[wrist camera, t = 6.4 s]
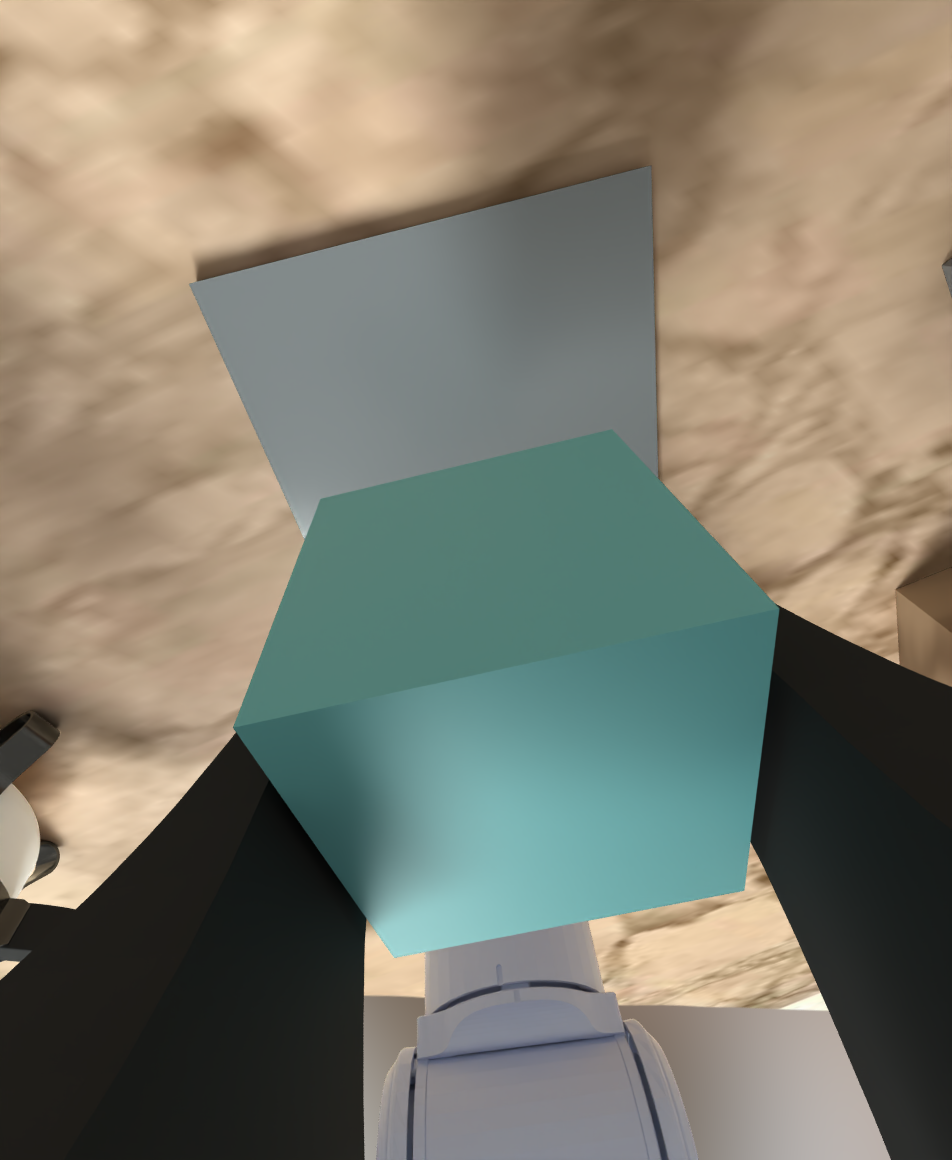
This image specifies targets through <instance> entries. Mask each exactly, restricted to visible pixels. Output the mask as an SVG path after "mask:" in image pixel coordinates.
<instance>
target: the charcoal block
mask: <svg viewBox="0 0 952 1160" xmlns="http://www.w3.org/2000/svg"><path fill="white" fill-rule="evenodd" d="M942 268H943V271H944V275H945V278H946V281H947V284H948V287H949V290H950V293H951V297H952V258H951V259H950V260H949V261H947V262H946V263H945V264H943V265H942Z"/></svg>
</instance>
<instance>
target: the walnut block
mask: <svg viewBox="0 0 952 1160" xmlns="http://www.w3.org/2000/svg"><path fill="white" fill-rule="evenodd" d="M896 608H897V626H898V643H899V661H900V665H901V666H903V667H905V668H907V669H910V670H912V671H914V672H917V673H919V674H921V675H924V676H926V677H928V678H931V679H933V680H936V681H938V682H941V683H943V684H946V685H948V686H951V687H952V567H951V568H948V569H946V570H943V571H941V572H938V573H936V574H933V575H931V576H928V577H926V578H923V579H921V580H918V581H916V582H913V583H911V584H908V585H906V586H903V587H901V588H898V589H896Z"/></svg>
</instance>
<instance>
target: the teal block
mask: <svg viewBox="0 0 952 1160" xmlns="http://www.w3.org/2000/svg"><path fill="white" fill-rule="evenodd" d="M778 616H779V608H778V606H777V605H776V604H775V603H774V602H773V601H772V600H771V599H770V598H769V597H768V596H767V595H766V594H765V593H764V591H763V590H762V589H761V588H760V587H759V586H758V585H757V584H756V583H755V582H754V581H753V580H752V579H751V578H750V576H749V575H748V574H747V573H746V572H745V571H744V570H743V569H742V568H741V567H740V566H739V565H738V564H737V563H736V561H735V560H734V559H733V558H732V557H731V556H730V555H729V554H728V553H727V552H726V551H725V550H724V549H723V548H722V546H721V545H720V544H719V543H718V542H717V541H716V540H715V539H714V538H713V537H712V536H711V535H710V534H709V533H708V531H707V530H706V529H705V528H704V527H703V526H702V525H701V524H700V523H699V522H698V521H697V520H696V519H695V518H694V516H693V515H692V514H691V513H690V512H689V511H688V510H687V509H686V508H685V507H684V506H683V505H682V504H681V503H680V501H679V500H678V499H677V498H676V497H675V496H674V495H673V494H672V493H671V492H670V491H669V490H668V489H667V488H666V486H665V485H664V484H663V483H662V482H661V481H660V480H659V479H658V478H657V477H656V476H655V475H654V474H653V473H652V471H651V470H650V469H649V468H648V467H647V466H646V465H645V464H644V463H643V462H642V461H641V460H640V459H639V457H638V456H637V455H636V454H635V453H634V452H633V451H632V450H631V449H630V448H629V447H628V446H627V445H626V444H625V442H624V441H623V440H622V439H621V438H620V437H619V436H618V435H617V434H616V433H615V432H614V431H613V430H612V429H611V430H606V431H602V432H598V433H594V434H590V435H585V436H581V437H577V438H573V439H569V440H564V441H560V442H556V443H552V444H548V445H544V446H539V447H535V448H531V449H527V450H523V451H518V452H514V453H510V454H506V455H502V456H497V457H493V458H489V459H485V460H481V461H477V462H472V463H468V464H464V465H460V466H456V467H451V468H447V469H443V470H439V471H435V472H431V473H426V474H422V475H418V476H414V477H410V478H405V479H401V480H397V481H393V482H389V483H384V484H380V485H376V486H372V487H368V488H364V489H359V490H355V491H351V492H347V493H343V494H338V495H334V496H330V497H326V498H322V499H320V501H319V504H318V507H317V509H316V512H315V514H314V517H313V520H312V522H311V525H310V527H309V530H308V533H307V535H306V538H305V541H304V543H303V546H302V548H301V551H300V554H299V556H298V559H297V562H296V564H295V567H294V569H293V572H292V575H291V577H290V580H289V583H288V585H287V588H286V590H285V593H284V596H283V598H282V601H281V603H280V606H279V609H278V611H277V614H276V617H275V619H274V622H273V624H272V627H271V630H270V632H269V635H268V638H267V640H266V643H265V645H264V648H263V651H262V653H261V656H260V658H259V661H258V664H257V666H256V669H255V672H254V674H253V677H252V679H251V682H250V685H249V687H248V690H247V693H246V695H245V698H244V700H243V703H242V706H241V708H240V711H239V714H238V716H237V719H236V721H235V724H234V727H233V728H234V730H235V731H236V733H237V734H238V735H239V737H240V738H241V740H242V741H243V743H244V744H245V745H246V747H247V748H248V750H249V751H250V753H251V754H252V755H253V757H254V758H255V760H256V761H257V763H258V764H259V765H260V767H261V768H262V770H263V771H264V773H265V774H266V775H267V777H268V778H269V780H270V781H271V783H272V784H273V785H274V787H275V788H276V790H277V791H278V793H279V794H280V795H281V797H282V798H283V800H284V801H285V803H286V804H287V805H288V807H289V808H290V810H291V811H292V813H293V814H294V815H295V817H296V818H297V820H298V821H299V823H300V824H301V825H302V827H303V828H304V830H305V831H306V833H307V834H308V835H309V837H310V838H311V840H312V841H313V843H314V844H315V845H316V847H317V848H318V850H319V851H320V853H321V854H322V855H323V857H324V858H325V860H326V861H327V863H328V864H329V865H330V867H331V868H332V870H333V871H334V873H335V874H336V875H337V877H338V878H339V880H340V881H341V883H342V884H343V885H344V887H345V888H346V890H347V891H348V893H349V894H350V895H351V897H352V898H353V900H354V901H355V903H356V904H357V905H358V907H359V908H360V910H361V911H362V913H363V914H364V915H365V917H366V918H367V920H368V921H369V923H370V924H371V925H372V927H373V928H374V930H375V931H376V933H377V934H378V935H379V937H380V938H381V940H382V941H383V943H384V944H385V945H386V947H387V948H388V950H389V951H390V953H391V954H392V955H393V957H394V958H397V957H402V956H407V955H412V954H417V953H423V952H428V951H433V950H438V949H443V948H449V947H454V946H459V945H464V944H469V943H475V942H480V941H485V940H490V939H495V938H501V937H506V936H511V935H516V934H521V933H527V932H532V931H537V930H542V929H547V928H553V927H558V926H563V925H568V924H573V923H579V922H584V921H589V920H594V919H599V918H605V917H610V916H615V915H620V914H625V913H631V912H636V911H641V910H646V909H651V908H657V907H662V906H667V905H672V904H677V903H683V902H688V901H693V900H698V899H703V898H709V897H714V896H719V895H724V894H729V893H735V892H740V891H744V888H745V880H746V872H747V864H748V856H749V848H750V840H751V832H752V824H753V816H754V808H755V800H756V792H757V784H758V776H759V768H760V760H761V752H762V744H763V736H764V728H765V720H766V712H767V704H768V696H769V688H770V680H771V672H772V664H773V656H774V648H775V640H776V632H777V624H778Z"/></svg>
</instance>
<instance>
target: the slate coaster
mask: <svg viewBox="0 0 952 1160" xmlns="http://www.w3.org/2000/svg"><path fill="white" fill-rule="evenodd" d="M189 285H190V287H191V289H192V291H193V294H194V296H195V298H196V300H197V303H198V305H199V307H200V309H201V311H202V314H203V316H204V318H205V320H206V322H207V325H208V327H209V329H210V331H211V334H212V336H213V338H214V340H215V342H216V345H217V347H218V349H219V351H220V354H221V356H222V358H223V360H224V362H225V365H226V367H227V369H228V371H229V373H230V376H231V378H232V380H233V382H234V385H235V387H236V389H237V391H238V393H239V396H240V398H241V400H242V402H243V405H244V407H245V409H246V411H247V413H248V416H249V418H250V420H251V422H252V424H253V427H254V429H255V431H256V433H257V436H258V438H259V440H260V442H261V444H262V447H263V449H264V451H265V453H266V456H267V458H268V460H269V462H270V464H271V467H272V469H273V471H274V473H275V475H276V478H277V480H278V482H279V484H280V487H281V489H282V491H283V493H284V495H285V498H286V500H287V502H288V504H289V507H290V509H291V511H292V513H293V515H294V518H295V520H296V522H297V524H298V526H299V529H300V531H301V533H302V535H303V538H304V540H305V538H306V535H307V533H308V530H309V527H310V525H311V522H312V520H313V517H314V514H315V512H316V509H317V507H318V504H319V501H320V499H322V498H326V497H330V496H334V495H338V494H343V493H347V492H351V491H355V490H359V489H364V488H368V487H372V486H376V485H380V484H384V483H389V482H393V481H397V480H401V479H405V478H410V477H414V476H418V475H422V474H426V473H431V472H435V471H439V470H443V469H447V468H451V467H456V466H460V465H464V464H468V463H472V462H477V461H481V460H485V459H489V458H493V457H497V456H502V455H506V454H510V453H514V452H518V451H523V450H527V449H531V448H535V447H539V446H544V445H548V444H552V443H556V442H560V441H564V440H569V439H573V438H577V437H581V436H585V435H590V434H594V433H598V432H602V431H606V430H611V429H612V430H613V431H614V432H615V433H616V434H617V435H618V436H619V437H620V438H621V439H622V440H623V441H624V442H625V444H626V445H627V446H628V447H629V448H630V449H631V450H632V451H633V452H634V453H635V454H636V455H637V456H638V457H639V459H640V460H641V461H642V462H643V463H644V464H645V465H646V466H647V467H648V468H649V469H650V470H651V471H652V473H653V474H654V475H655V476H656V477H657V478H658V451H657V405H656V359H655V313H654V267H653V221H652V175H651V166H647V167H643V168H639V169H635V170H631V171H627V172H623V173H619V174H616V175H612V176H608V177H604V178H600V179H596V180H592V181H588V182H584V183H580V184H576V185H573V186H569V187H565V188H561V189H557V190H553V191H549V192H545V193H541V194H537V195H534V196H530V197H526V198H522V199H518V200H514V201H510V202H506V203H502V204H498V205H495V206H491V207H487V208H483V209H479V210H475V211H471V212H467V213H463V214H459V215H455V216H452V217H448V218H444V219H440V220H436V221H432V222H428V223H424V224H420V225H416V226H413V227H409V228H405V229H401V230H397V231H393V232H389V233H385V234H381V235H377V236H373V237H370V238H366V239H362V240H358V241H354V242H350V243H346V244H342V245H338V246H334V247H331V248H327V249H323V250H319V251H315V252H311V253H307V254H303V255H299V256H295V257H291V258H288V259H284V260H280V261H276V262H272V263H268V264H264V265H260V266H256V267H252V268H249V269H245V270H241V271H237V272H233V273H229V274H225V275H221V276H217V277H213V278H209V279H206V280H202V281H198V282H194V283H190V284H189Z"/></svg>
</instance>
